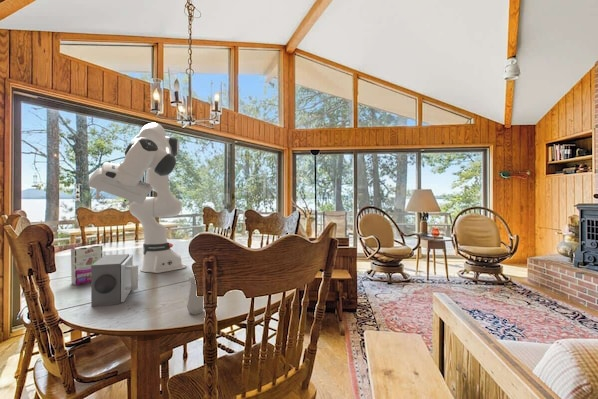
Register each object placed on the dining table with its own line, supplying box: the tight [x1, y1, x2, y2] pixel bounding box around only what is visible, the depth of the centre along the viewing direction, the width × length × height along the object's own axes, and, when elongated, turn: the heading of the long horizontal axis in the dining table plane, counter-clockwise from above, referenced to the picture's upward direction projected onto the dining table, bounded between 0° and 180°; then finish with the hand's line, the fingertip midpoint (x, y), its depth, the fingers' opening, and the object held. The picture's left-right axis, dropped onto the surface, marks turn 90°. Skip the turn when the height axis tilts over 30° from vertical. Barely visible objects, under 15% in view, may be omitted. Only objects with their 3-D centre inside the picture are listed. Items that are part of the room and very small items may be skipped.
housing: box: [90, 253, 130, 308], centre depth 116 cm, size 20×9×15 cm, turn 20°
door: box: [121, 254, 139, 303], centre depth 120 cm, size 18×5×14 cm, turn 20°
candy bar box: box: [70, 243, 103, 286], centre depth 136 cm, size 11×5×16 cm, turn 148°
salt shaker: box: [186, 274, 204, 316], centre depth 103 cm, size 6×6×13 cm
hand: (110, 202), depth 117 cm, fingers open, 8 cm apart
